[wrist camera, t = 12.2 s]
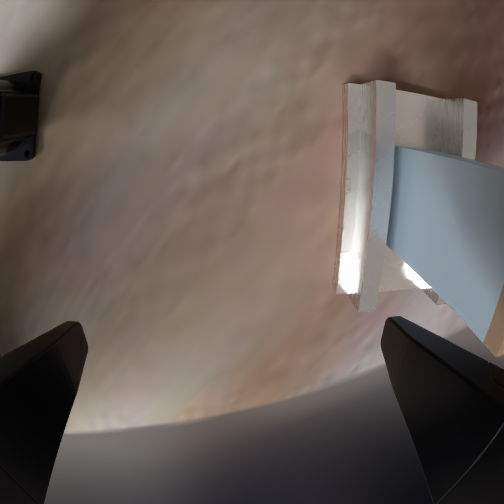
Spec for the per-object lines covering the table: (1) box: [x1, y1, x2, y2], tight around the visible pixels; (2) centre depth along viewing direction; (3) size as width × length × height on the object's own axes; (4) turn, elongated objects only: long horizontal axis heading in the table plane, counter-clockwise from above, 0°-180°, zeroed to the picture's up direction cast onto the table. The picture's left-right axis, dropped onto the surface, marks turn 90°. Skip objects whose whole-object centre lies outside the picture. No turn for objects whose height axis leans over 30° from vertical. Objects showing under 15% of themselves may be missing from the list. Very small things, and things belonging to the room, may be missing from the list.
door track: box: [333, 80, 477, 312], centre depth 19 cm, size 9×14×4 cm, turn 1°
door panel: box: [386, 146, 504, 357], centre depth 14 cm, size 3×6×12 cm, turn 1°
